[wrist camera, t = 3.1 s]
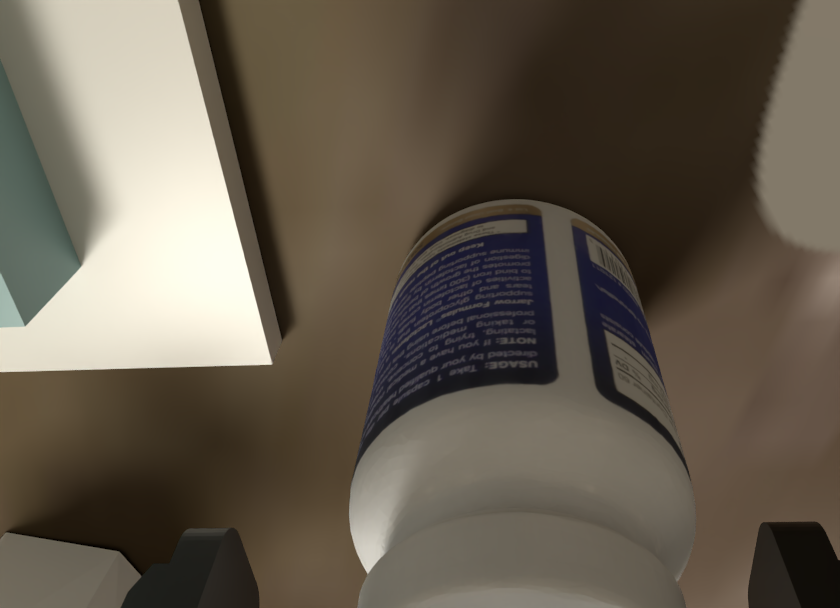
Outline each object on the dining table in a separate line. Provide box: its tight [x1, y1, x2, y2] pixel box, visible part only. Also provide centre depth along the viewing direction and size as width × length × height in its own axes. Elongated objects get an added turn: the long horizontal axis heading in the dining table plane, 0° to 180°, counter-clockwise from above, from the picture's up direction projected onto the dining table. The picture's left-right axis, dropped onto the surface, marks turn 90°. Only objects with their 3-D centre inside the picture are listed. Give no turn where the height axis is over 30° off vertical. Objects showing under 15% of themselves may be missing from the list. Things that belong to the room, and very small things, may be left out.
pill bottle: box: [349, 199, 696, 608], centre depth 14 cm, size 6×6×10 cm
